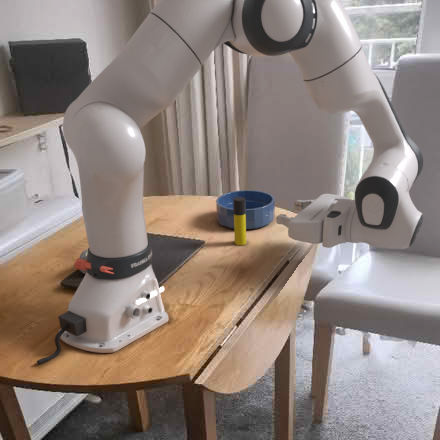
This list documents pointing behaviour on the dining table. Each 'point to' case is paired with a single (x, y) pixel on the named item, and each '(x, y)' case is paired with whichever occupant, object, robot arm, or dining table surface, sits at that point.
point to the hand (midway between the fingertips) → (286, 211)
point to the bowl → (247, 208)
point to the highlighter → (239, 220)
